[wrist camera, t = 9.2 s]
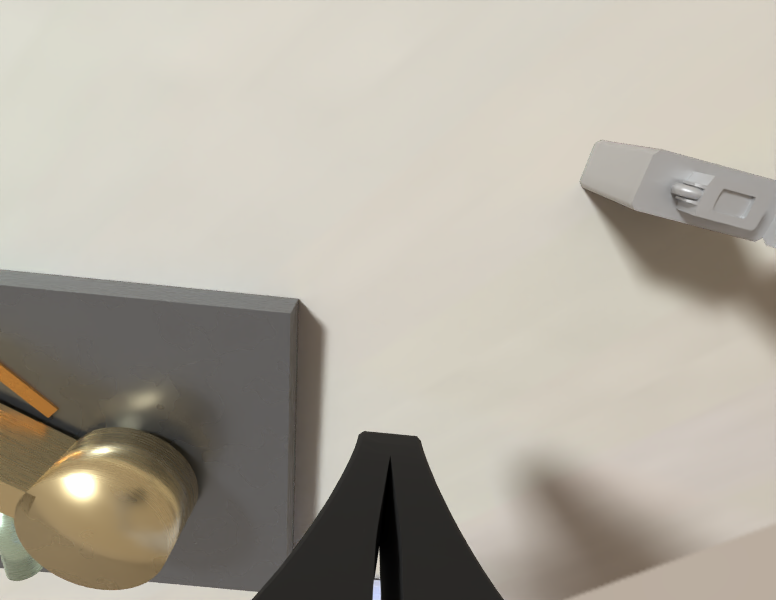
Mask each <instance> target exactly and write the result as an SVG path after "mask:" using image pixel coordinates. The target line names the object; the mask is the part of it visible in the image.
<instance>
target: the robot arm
mask: <svg viewBox="0 0 776 600" xmlns="http://www.w3.org/2000/svg"><path fill="white" fill-rule="evenodd" d="M378 551H380V580H374V578H375V571H376V564H377V558H378ZM252 600H504V599H503V598H502V597H501V595H500V594H499V592H498V591H497V590H496V588H495V587H494V585H493V584H492V582H491V581H490V579H489V578H488V576H487V575H486V573H485V572H484V570H483V569H482V567H481V565H480V564H479V562H478V561H477V559H476V557H475V556H474V554H473V552H472V551H471V549H470V547H469V546H468V544H467V542H466V540H465V539H464V537H463V535H462V533H461V532H460V530H459V528H458V526H457V524H456V522H455V521H454V519H453V517H452V515H451V513H450V511H449V509H448V507H447V505H446V503H445V501H444V499H443V497H442V495H441V493H440V490H439V488H438V486H437V484H436V482H435V479H434V477H433V474H432V472H431V470H430V467H429V465H428V462H427V459H426V457H425V454H424V451H423V447H422V444H421V441H420V440H419V438H418V437H417V436H409V435H399V434H388V433H378V432H367V431H364V432H362V433H361V434H359V436H358V440H357V443H356V446H355V449H354V451H353V453H352V456H351V458H350V460H349V462H348V464H347V466H346V468H345V470H344V472H343V474H342V476H341V478H340V480H339V481H338V483H337V485H336V487H335V488H334V490H333V492H332V494H331V495H330V497H329V499H328V500H327V502H326V504H325V505H324V507H323V508H322V510H321V511H320V513H319V514H318V516H317V517H316V519H315V520H314V522H313V523H312V525H311V526H310V528H309V529H308V531H307V532H306V533H305V535H304V536H303V538H302V539H301V540H300V542H299V543H298V544H297V546H296V547H295V548H294V550H293V551H292V552H291V554H290V555H289V556H288V557H287V559H286V560H285V561H284V562H283V564H282V565H281V566H280V567H279V569H278V570H277V571H276V572H275V573H274V575H273V576H272V577H271V578H270V579H269V580H268V582H267V583H266V584H265V585H264V586H263V587H262V589H261V590H260V591H259V592H258V593H257V594H256V596H255V597H254V598H253V599H252Z"/></svg>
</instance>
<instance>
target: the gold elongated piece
mask: <svg viewBox="0 0 776 600" xmlns="http://www.w3.org/2000/svg"><path fill="white" fill-rule="evenodd" d="M197 499H198V483H197V478H196V476H195V473H194V471H193V469H192V467H191V465H190V464H189V463H188V461H187V460H186V459H185V458H184V456H183V455H182V454H181V453H180V452H179V451H178V450H176V449H175V448H174V447H173V446H171V445H170V444H169V443H167V442H166V441H164V440H162V439H160V438H159V437H156V436H154V435H152V434H150V433H147V432H144V431H141V430H136V429H132V428H124V427H109V428H102V429H98V430H94V431H92V432H89V433H87V434H85V435H84V436H82V437H81V438H79V439H78V440H76V439H74V438H72V437H69V436H67V435H65V434H63V433H61V432H59V431H57V430H55V429H53V428H51V427H49V426H47V425H45V424H42V423H40V422H38V421H36V420H34V419H32V418H30V417H28V416H26V415H24V414H22V413H20V412H18V411H16V410H13V409H11V408H9V407H7V406H5V405H3V404H1V403H0V513H3V514H5V515H7V516H10V517H12V518H14V526H15V530H16V533H17V536H18V538H19V540H20V542H21V544H22V545H23V547H24V548H25V550H26V551H27V552H28V553H29V555H30V556H31V557H32V558H33V559H34V560H35V561H37V562H38V563H39V564H40V565H41V566H43V567H44V568H45V569H47V570H48V571H50V572H51V573H53V574H55V575H57V576H58V577H60V578H63V579H65V580H67V581H69V582H72V583H75V584H78V585H81V586H85V587H89V588H94V589H102V590H121V589H128V588H133V587H136V586H139V585H142V584H144V583H146V582H148V581H149V580H151V579H152V578H154V577H155V576H156V575H157V574H158V573H159V572H160V571H161V569H162V568H163V566H164V564H165V562H166V560H167V558H168V557H169V555H170V553H171V551H172V549H173V547H174V545H175V543H176V541H177V539H178V537H179V536H180V534H181V532H182V530H183V528H184V526H185V524H186V522H187V520H188V518H189V516H190V515H191V513H192V511H193V509H194V507H195V505H196V502H197Z"/></svg>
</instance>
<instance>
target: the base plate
mask: <svg viewBox="0 0 776 600" xmlns="http://www.w3.org/2000/svg"><path fill="white" fill-rule="evenodd" d="M297 339H298V299H294V298H284V297H274V296H263V295H253V294H243V293H233V292H223V291H212V290H202V289H192V288H182V287H172V286H161V285H151V284H141V283H131V282H121V281H110V280H100V279H90V278H80V277H70V276H59V275H49V274H39V273H29V272H19V271H9V270H0V403H1V404H3V405H5V406H7V407H9V408H11V409H13V410H16V411H18V412H20V413H22V414H24V415H26V416H28V417H30V418H32V419H34V420H36V421H38V422H40V423H42V424H45V425H47V426H49V427H51V428H53V429H55V430H57V431H59V432H61V433H63V434H65V435H67V436H69V437H72V438H74V439H76V440H78V439H79V438H81V437H82V436H84V435H85V434H87V433H89V432H92V431H94V430H98V429H102V428H109V427H124V428H132V429H136V430H141V431H144V432H147V433H150V434H152V435H154V436H156V437H159V438H160V439H162V440H164V441H166V442H167V443H169V444H170V445H171V446H173V447H174V448H175V449H176V450H178V451H179V452H180V453H181V454H182V455H183V456H184V458H185V459H186V460H187V461H188V463H189V464H190V465H191V467H192V469H193V471H194V473H195V476H196V478H197V483H198V499H197V502H196V505H195V507H194V509H193V511H192V513H191V515H190V516H189V518H188V520H187V522H186V524H185V526H184V528H183V530H182V532H181V534H180V536H179V537H178V539H177V541H176V543H175V545H174V547H173V549H172V551H171V553H170V555H169V557H168V558H167V560H166V562H165V564H164V566H163V568H162V569H161V571H160V572H159V573H158V574H157V575H156V576H155V577H154V578H152V579H151V580H149V581H148V582H158V583H169V584H180V585H191V586H201V587H212V588H223V589H234V590H245V591H255V592H259V591H260V590H261V589H262V587H263V586H264V585H265V584H266V583H267V582H268V580H269V579H270V578H271V577H272V576H273V575H274V573H275V572H276V571H277V570H278V569H279V567H280V566H281V565H282V564H283V562H284V561H285V560H286V559H287V557H288V556H289V555H290V554H291V552H292V551H293V516H294V471H295V427H296V383H297ZM0 568H4V569H5V572H6V576H7V578H8V579H10V580H13V581H20V580H24V579H27V578H30V577H32V576H33V575H35V574H36V573H38V572H39V571H40V572H50V571H48V570H47V569H45V568H44V567H43V566H41V565H40V564H39V563H38V562H37V561H35V560H34V559H33V558H32V557H31V556H30V555H29V553H28V552H27V551H26V550H25V548H24V547H23V545H22V544H21V542H20V540H19V538H18V536H17V533H16V530H15V526H14V518H12V517H10V516H7V515H5V514H3V513H0Z"/></svg>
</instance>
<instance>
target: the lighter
mask: <svg viewBox="0 0 776 600" xmlns="http://www.w3.org/2000/svg"><path fill="white" fill-rule="evenodd" d="M580 184H581V186H582V187H583V188H585V189H587V190H589V191H592V192H594V193H596V194H599V195H601V196H603V197H605V198H608V199H610V200H612V201H615V202H617V203H619V204H621V205H624V206H626V207H628V208H631V209H633V210H636V211H639V212H643V213H647V214H651V215H655V216H659V217H662V218H666V219H670V220H674V221H678V222H681V223H685V224H689V225H693V226H697V227H701V228H704V229H708V230H712V231H716V232H720V233H723V234H727V235H731V236H735V237H739V238H743V239H746V240H750V241H754V242H755V241H757V240H759V239H762V238H763V239H764V242H765V244H766V245H767V246H770V247H773V248H776V180H773V179H769V178H765V177H762V176H758V175H754V174H751V173H747V172H743V171H740V170H736V169H732V168H729V167H725V166H721V165H718V164H714V163H710V162H706V161H703V160H699V159H695V158H692V157H688V156H684V155H681V154H677V153H673V152H670V151H666V150H662V149H656V148H650V147H643V146H637V145H631V144H624V143H618V142H611V141H605V140H600V141H598V142H597V143H595V144H594V146H593V149H592V151H591V154H590V156H589V159H588V161H587V164H586V166H585V169H584V172H583V174H582V177H581V179H580Z"/></svg>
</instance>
